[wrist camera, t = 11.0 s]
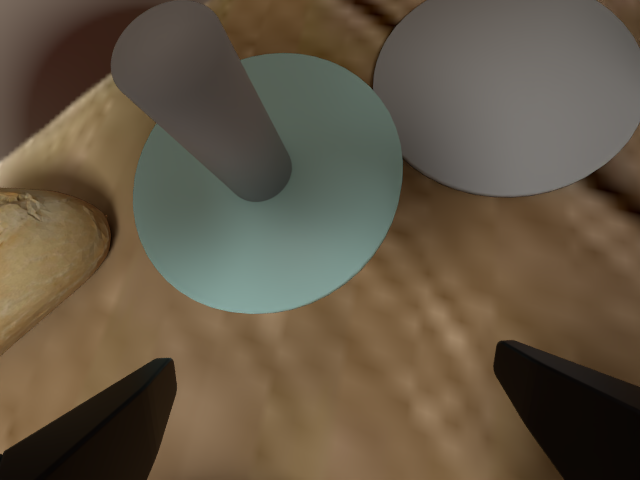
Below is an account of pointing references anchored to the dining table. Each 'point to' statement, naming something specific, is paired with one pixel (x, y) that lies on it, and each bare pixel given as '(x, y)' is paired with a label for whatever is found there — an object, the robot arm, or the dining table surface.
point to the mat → (510, 92)
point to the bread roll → (44, 254)
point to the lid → (253, 164)
